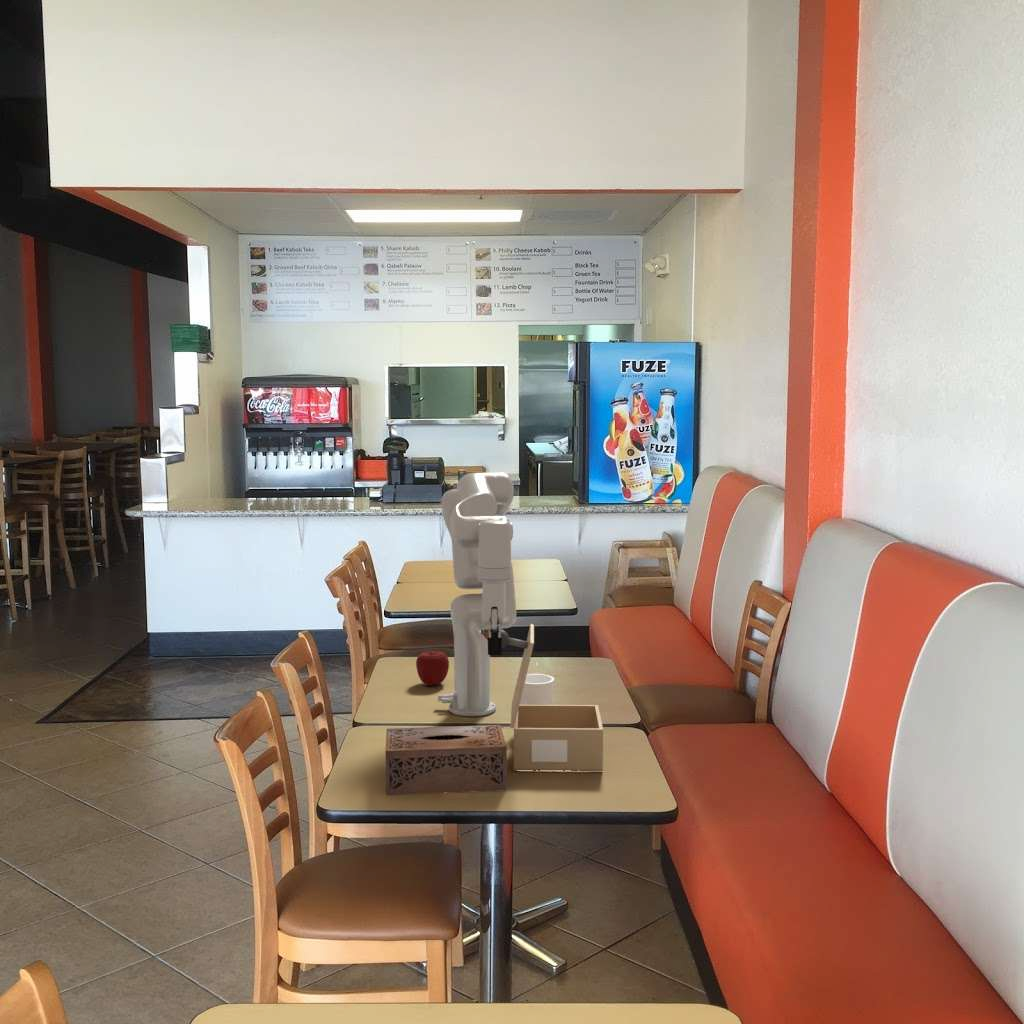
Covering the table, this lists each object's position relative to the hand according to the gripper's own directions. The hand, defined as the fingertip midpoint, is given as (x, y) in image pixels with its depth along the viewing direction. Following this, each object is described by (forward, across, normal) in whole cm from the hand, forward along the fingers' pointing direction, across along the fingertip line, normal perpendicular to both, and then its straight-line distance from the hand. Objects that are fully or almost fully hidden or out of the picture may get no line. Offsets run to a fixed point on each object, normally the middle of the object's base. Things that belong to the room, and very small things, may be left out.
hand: (495, 651), depth 235 cm
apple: (+25, -61, -20) cm, 69 cm away
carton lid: (+6, 0, +7) cm, 9 cm away
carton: (+26, 0, +14) cm, 29 cm away
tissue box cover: (+26, +14, -11) cm, 31 cm away
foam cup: (+26, -21, +10) cm, 35 cm away
